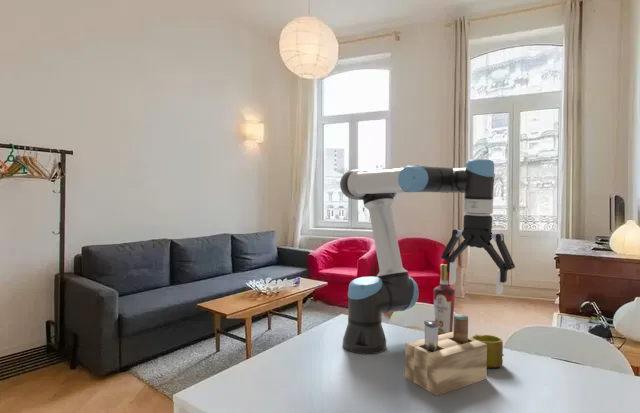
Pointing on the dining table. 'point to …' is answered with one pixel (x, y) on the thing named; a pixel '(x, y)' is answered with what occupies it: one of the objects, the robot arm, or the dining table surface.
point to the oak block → (446, 364)
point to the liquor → (444, 303)
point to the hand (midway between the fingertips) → (474, 288)
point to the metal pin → (431, 335)
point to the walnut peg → (460, 329)
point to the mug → (492, 349)
